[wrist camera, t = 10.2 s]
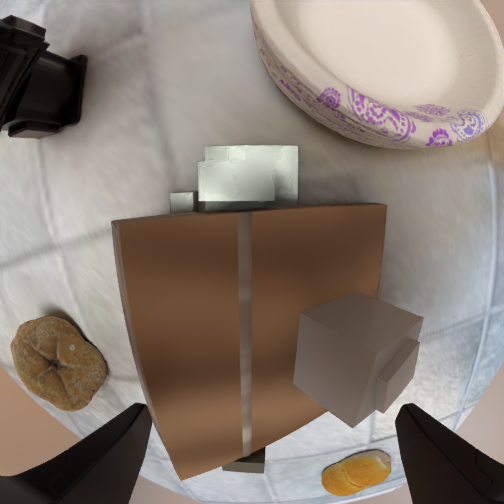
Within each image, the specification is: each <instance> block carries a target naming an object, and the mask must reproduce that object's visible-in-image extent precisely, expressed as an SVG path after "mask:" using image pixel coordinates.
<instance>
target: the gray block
mask: <svg viewBox="0 0 504 504" xmlns="http://www.w3.org/2000/svg"><path fill="white" fill-rule="evenodd" d="M423 319H424V318H423V317H420V316H418V315H415V314H413V313H410V312H408V311H405V310H403V309H400V308H398V307H395V306H393V305H390V304H388V303H385V302H382V301H380V300H377V299H375V298H372V297H370V296H367V295H365V294H362V293H360V292H355V293H352V294H350V295H347V296H344V297H342V298H339V299H336V300H334V301H331V302H328V303H326V304H323V305H320V306H318V307H315V308H312V309H309V310H306V311H304V312H301V313H300V321H299V331H298V342H297V352H296V361H295V370H294V379H293V384H294V385H295V386H297V387H298V388H299V389H301V390H302V391H303V392H304V393H306V394H307V395H308V396H310V397H311V398H312V399H313V400H315V401H316V402H317V403H319V404H320V405H321V406H323V407H324V408H325V409H327V410H328V411H329V412H331V413H332V414H333V415H335V416H336V417H337V418H339V419H340V420H342V421H343V422H344V423H346V424H347V425H348V426H350V427H351V428H354V427H355V426H356V425H357V424H359V423H360V422H361V421H363V420H364V419H365V418H366V417H367V416H369V415H370V414H371V413H372V412H374V411H375V410H378V411H380V412H381V413H384V412H385V411H386V410H387V409H388V408H389V407H390V405H391V404H392V403H393V402H394V401H395V400H396V398H397V397H398V396H399V395H400V394H401V392H402V391H403V390H404V389H405V387H406V386H407V385H408V384H409V382H410V381H411V380H412V378H413V376H414V371H415V366H416V361H417V356H418V350H419V344H420V342H418V341H417V340H418V337H419V333H420V330H421V326H422V322H423Z"/></svg>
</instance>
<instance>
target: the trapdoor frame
mask: <svg viewBox="0 0 504 504" xmlns="http://www.w3.org/2000/svg"><path fill="white" fill-rule="evenodd" d="M198 187H199V201H205V212H214V211H226V210H238V209H253V208H269V207H286V206H297V205H298V146H280V145H238V146H209V147H204V161H198ZM187 212H197V192H174V193H170V214H177V213H187ZM265 447H266V446H265ZM265 447H263V448H261V449H259V450H257V451H255V452H253V453H251V454H250V455H249V456H246V457H242V458H240V459H237V460H235V461H233V462H230V463H228V464H225V465H223V466H222V469H223V471H234V472H246V473H264V464H265Z"/></svg>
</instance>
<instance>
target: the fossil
mask: <svg viewBox="0 0 504 504" xmlns="http://www.w3.org/2000/svg"><path fill="white" fill-rule="evenodd" d="M11 352H12V356H13V360H14V365H15V368H16V371H17V374H18V376H19V377H20V379H21V381H22V382H23V383H24V385H25V386H26V387H27V389H28V390H29V391H30V392H32V393H33V394H35V395H36V396H38V397H40V398H42V399H44V400H46V401H49V402H50V403H52V404H53V405H55V406H56V407H57V408H59V409H61V410H64V411H77V410H80V409H82V408H84V407H85V406H87V405H88V403H89V402H90V401H91V400H92V397H93V396H94V395H95V393H96V392H97V391H98V389H99V388H100V387H101V386H102V384H103V383H104V380H105V378H106V365H105V362H104V360H103V356H102V355H101V354H100V352H99V351H98V350H97V349H96V348H95V347H94V346H92V345H91V344H90V343H89V342H86V341H85V340H84V339H83V338H82V336H81V335H80V333H79V332H78V330H77V329H76V328H75V327H74V326H73V325H71V324H70V323H69V322H68V321H67V320H63V319H62V318H58V317H54V316H45V317H41V318H37V319H35V320H30V321H28V322H25V323H24V324H22V325H20V327H19V328H18V330H17V333H16V336H15V338H14V339H13V341H12V343H11Z"/></svg>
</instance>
